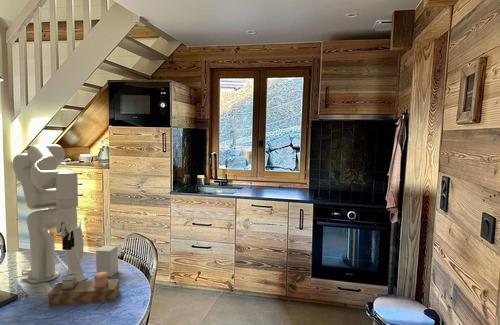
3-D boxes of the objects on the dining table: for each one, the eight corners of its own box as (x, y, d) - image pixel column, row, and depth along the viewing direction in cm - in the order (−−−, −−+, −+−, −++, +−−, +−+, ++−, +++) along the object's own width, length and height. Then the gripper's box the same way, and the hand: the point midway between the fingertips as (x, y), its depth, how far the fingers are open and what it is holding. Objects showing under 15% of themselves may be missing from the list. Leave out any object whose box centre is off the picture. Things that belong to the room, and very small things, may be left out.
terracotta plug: (92, 292, 131) (92, 277, 130) (96, 286, 136) (96, 272, 135) (106, 291, 132) (106, 276, 131) (109, 285, 137) (109, 271, 136)
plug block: (48, 306, 126) (48, 294, 125) (58, 294, 135) (58, 282, 135) (114, 301, 130) (114, 289, 130) (119, 290, 140) (119, 278, 140)
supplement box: (118, 271, 160) (118, 245, 159) (110, 277, 153) (110, 251, 152) (104, 270, 161) (104, 245, 160) (95, 276, 153) (95, 250, 153)
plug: (60, 294, 128) (59, 279, 128) (64, 288, 133) (64, 274, 133) (74, 293, 129) (74, 278, 129) (78, 287, 134) (78, 273, 134)
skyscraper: (90, 279, 150) (88, 219, 148) (75, 286, 143) (74, 223, 141) (75, 276, 153) (74, 218, 151) (60, 283, 145) (59, 222, 143)
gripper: (64, 199, 136) (65, 242, 137) (48, 207, 120) (50, 255, 121) (83, 198, 137) (84, 241, 139) (70, 206, 122) (71, 254, 123)
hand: (68, 247), depth 130 cm, fingers open, 2 cm apart
